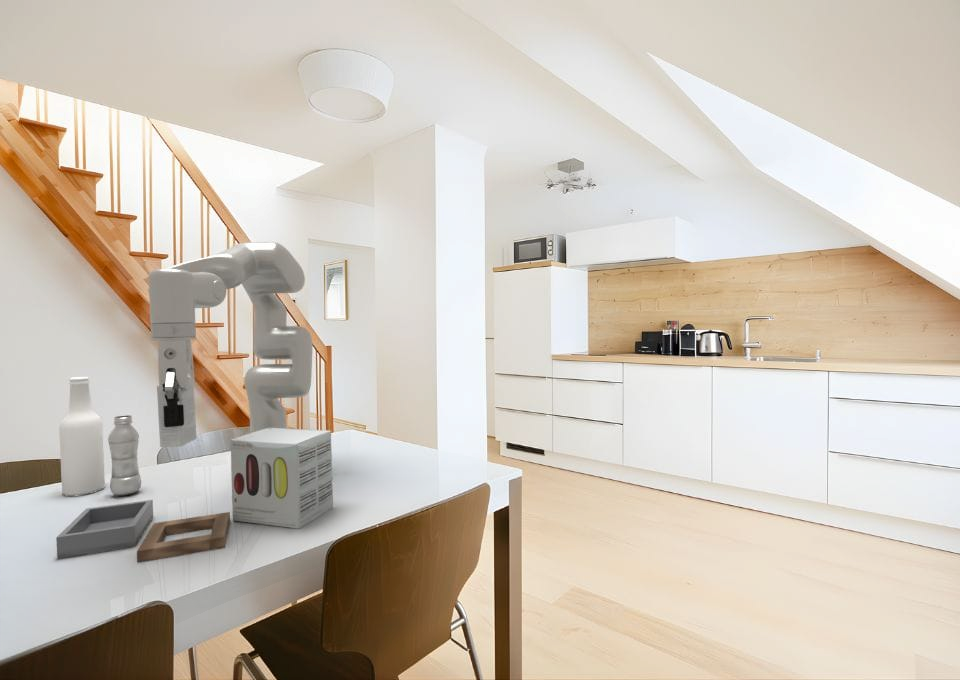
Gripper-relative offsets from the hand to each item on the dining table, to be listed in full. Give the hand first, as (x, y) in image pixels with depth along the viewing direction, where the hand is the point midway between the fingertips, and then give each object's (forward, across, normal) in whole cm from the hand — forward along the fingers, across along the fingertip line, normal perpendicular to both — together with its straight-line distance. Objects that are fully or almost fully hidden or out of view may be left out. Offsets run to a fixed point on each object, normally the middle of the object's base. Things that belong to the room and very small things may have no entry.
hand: (177, 421), depth 98 cm
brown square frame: (+23, -1, -1) cm, 23 cm away
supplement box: (+24, +5, -19) cm, 31 cm away
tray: (+24, +8, +14) cm, 28 cm away
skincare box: (+5, 0, 0) cm, 5 cm away
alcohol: (+24, +46, +28) cm, 59 cm away
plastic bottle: (+24, +38, +18) cm, 48 cm away
